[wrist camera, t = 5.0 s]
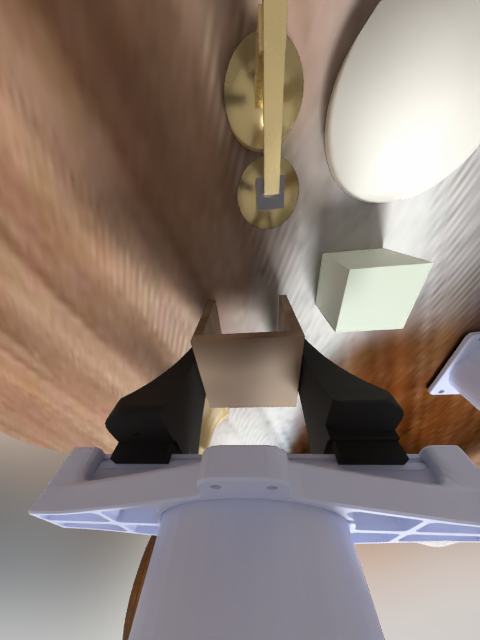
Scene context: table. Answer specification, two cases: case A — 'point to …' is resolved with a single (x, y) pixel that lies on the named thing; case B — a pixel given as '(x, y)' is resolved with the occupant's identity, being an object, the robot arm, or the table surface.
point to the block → (369, 288)
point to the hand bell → (207, 428)
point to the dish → (406, 100)
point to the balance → (265, 114)
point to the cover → (249, 361)
